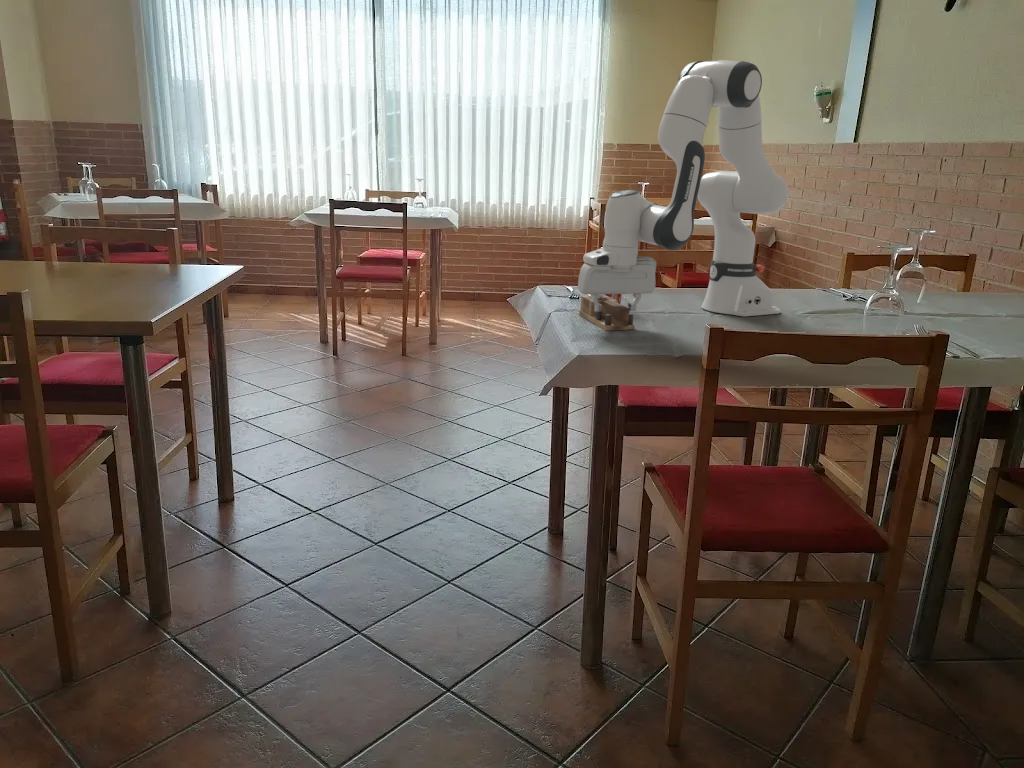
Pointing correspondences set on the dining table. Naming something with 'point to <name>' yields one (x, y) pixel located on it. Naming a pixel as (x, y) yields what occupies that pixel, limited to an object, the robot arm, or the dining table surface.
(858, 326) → the dining table surface
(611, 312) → the bar
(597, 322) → the board
